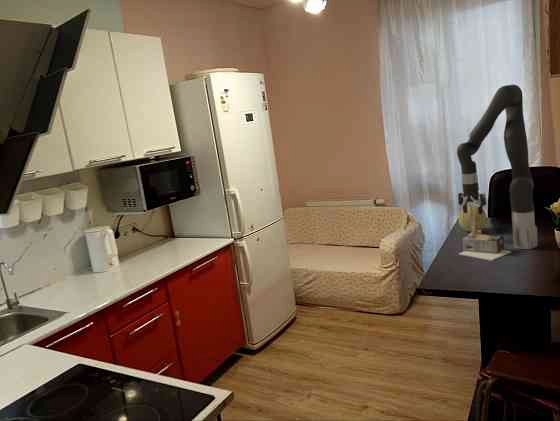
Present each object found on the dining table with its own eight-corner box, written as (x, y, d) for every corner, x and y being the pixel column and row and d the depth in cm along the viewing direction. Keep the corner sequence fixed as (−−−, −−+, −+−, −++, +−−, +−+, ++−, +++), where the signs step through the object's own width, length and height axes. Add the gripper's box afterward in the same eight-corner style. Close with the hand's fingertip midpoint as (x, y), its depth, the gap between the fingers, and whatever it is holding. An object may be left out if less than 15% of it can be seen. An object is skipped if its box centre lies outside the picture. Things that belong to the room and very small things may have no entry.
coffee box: (469, 233, 225) (504, 235, 214) (470, 245, 226) (504, 248, 215) (462, 238, 218) (498, 240, 208) (463, 251, 219) (498, 253, 209)
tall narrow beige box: (482, 239, 235) (480, 215, 233) (472, 243, 231) (470, 218, 229) (478, 239, 237) (477, 215, 234) (468, 243, 233) (467, 218, 230)
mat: (511, 252, 210) (511, 251, 210) (491, 260, 202) (491, 259, 202) (478, 246, 224) (478, 245, 224) (458, 254, 217) (458, 253, 217)
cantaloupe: (470, 236, 243) (468, 209, 240) (453, 231, 257) (451, 205, 254) (494, 231, 246) (492, 204, 244) (475, 226, 260) (474, 201, 258)
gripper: (487, 180, 224) (490, 212, 227) (462, 180, 236) (465, 211, 239) (477, 183, 220) (480, 216, 223) (453, 183, 233) (456, 214, 235)
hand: (472, 213), depth 231 cm, fingers open, 8 cm apart
